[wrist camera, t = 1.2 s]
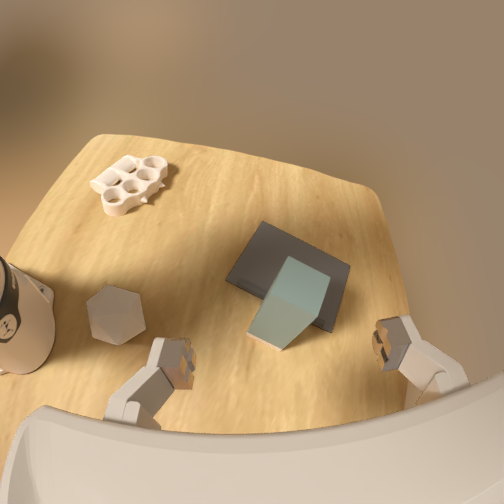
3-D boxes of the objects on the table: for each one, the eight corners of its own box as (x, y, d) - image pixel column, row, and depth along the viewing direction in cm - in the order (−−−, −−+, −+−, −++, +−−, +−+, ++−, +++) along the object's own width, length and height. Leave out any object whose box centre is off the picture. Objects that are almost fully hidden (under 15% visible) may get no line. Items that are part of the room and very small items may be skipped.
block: (245, 334, 42) (270, 292, 31) (260, 304, 46) (288, 255, 35) (279, 351, 42) (317, 316, 31) (293, 320, 45) (330, 277, 34)
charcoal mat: (225, 280, 47) (226, 276, 46) (262, 221, 57) (263, 217, 56) (330, 333, 45) (334, 330, 44) (349, 266, 55) (352, 263, 54)
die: (159, 333, 40) (148, 275, 37) (129, 367, 32) (110, 303, 29) (118, 324, 42) (106, 269, 38) (87, 352, 34) (67, 293, 31)
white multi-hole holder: (134, 156, 62) (182, 177, 60) (80, 198, 50) (128, 228, 49) (134, 145, 59) (183, 165, 58) (77, 187, 48) (126, 215, 46)
